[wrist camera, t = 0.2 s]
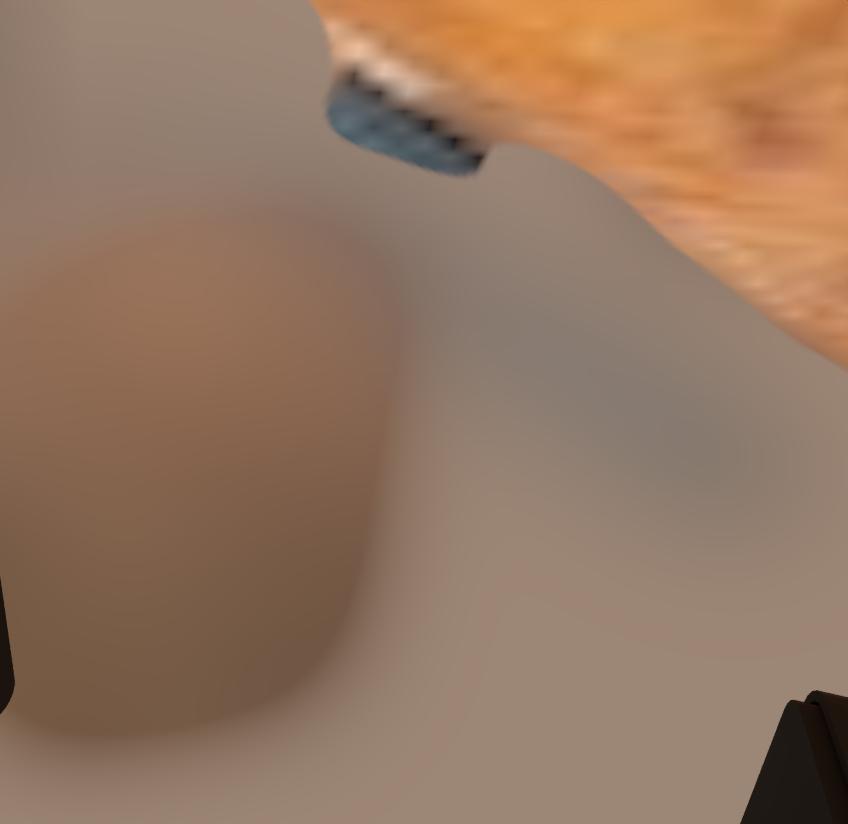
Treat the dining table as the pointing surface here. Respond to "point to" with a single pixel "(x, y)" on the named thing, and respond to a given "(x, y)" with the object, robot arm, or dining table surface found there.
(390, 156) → the dining table surface
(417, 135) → the dining table surface
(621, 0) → the dining table surface
